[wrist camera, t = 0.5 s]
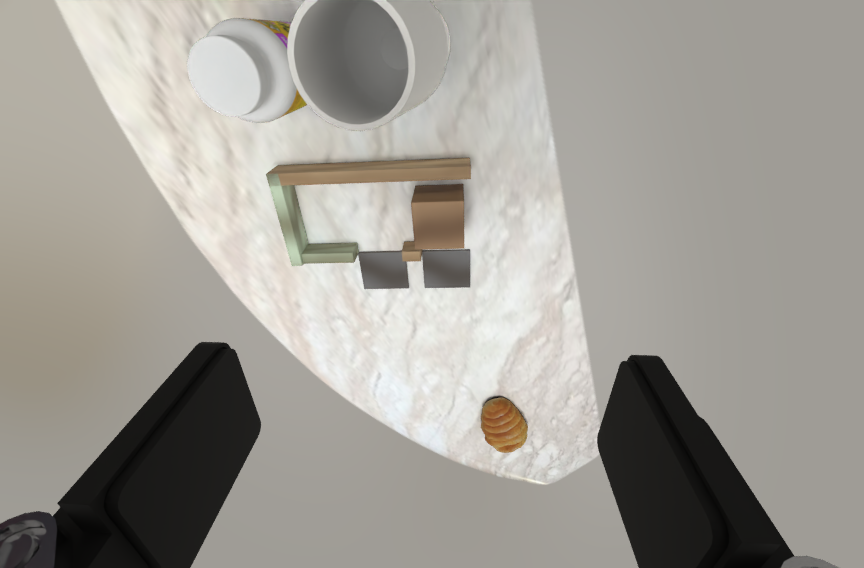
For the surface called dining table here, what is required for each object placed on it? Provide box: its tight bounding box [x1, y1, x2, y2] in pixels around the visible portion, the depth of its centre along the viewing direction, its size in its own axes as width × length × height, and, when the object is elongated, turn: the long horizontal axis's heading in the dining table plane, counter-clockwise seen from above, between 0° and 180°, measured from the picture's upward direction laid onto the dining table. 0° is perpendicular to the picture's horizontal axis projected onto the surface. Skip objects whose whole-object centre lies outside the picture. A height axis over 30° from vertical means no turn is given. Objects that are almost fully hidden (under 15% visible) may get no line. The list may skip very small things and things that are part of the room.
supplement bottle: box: [187, 18, 307, 123], centre depth 31 cm, size 7×7×13 cm
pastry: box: [481, 397, 528, 453], centre depth 59 cm, size 9×7×4 cm
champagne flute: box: [287, 0, 450, 131], centre depth 25 cm, size 7×7×24 cm
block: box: [411, 184, 464, 249], centre depth 41 cm, size 5×5×5 cm
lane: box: [266, 158, 471, 289], centre depth 43 cm, size 15×20×3 cm
